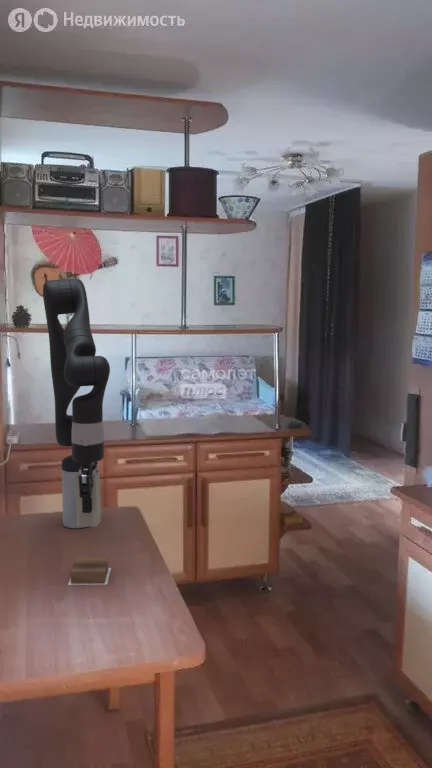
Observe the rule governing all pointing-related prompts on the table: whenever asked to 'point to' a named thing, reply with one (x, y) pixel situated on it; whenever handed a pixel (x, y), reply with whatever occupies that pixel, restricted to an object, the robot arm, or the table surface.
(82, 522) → the box
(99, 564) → the base block
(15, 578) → the table surface
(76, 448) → the robot arm
